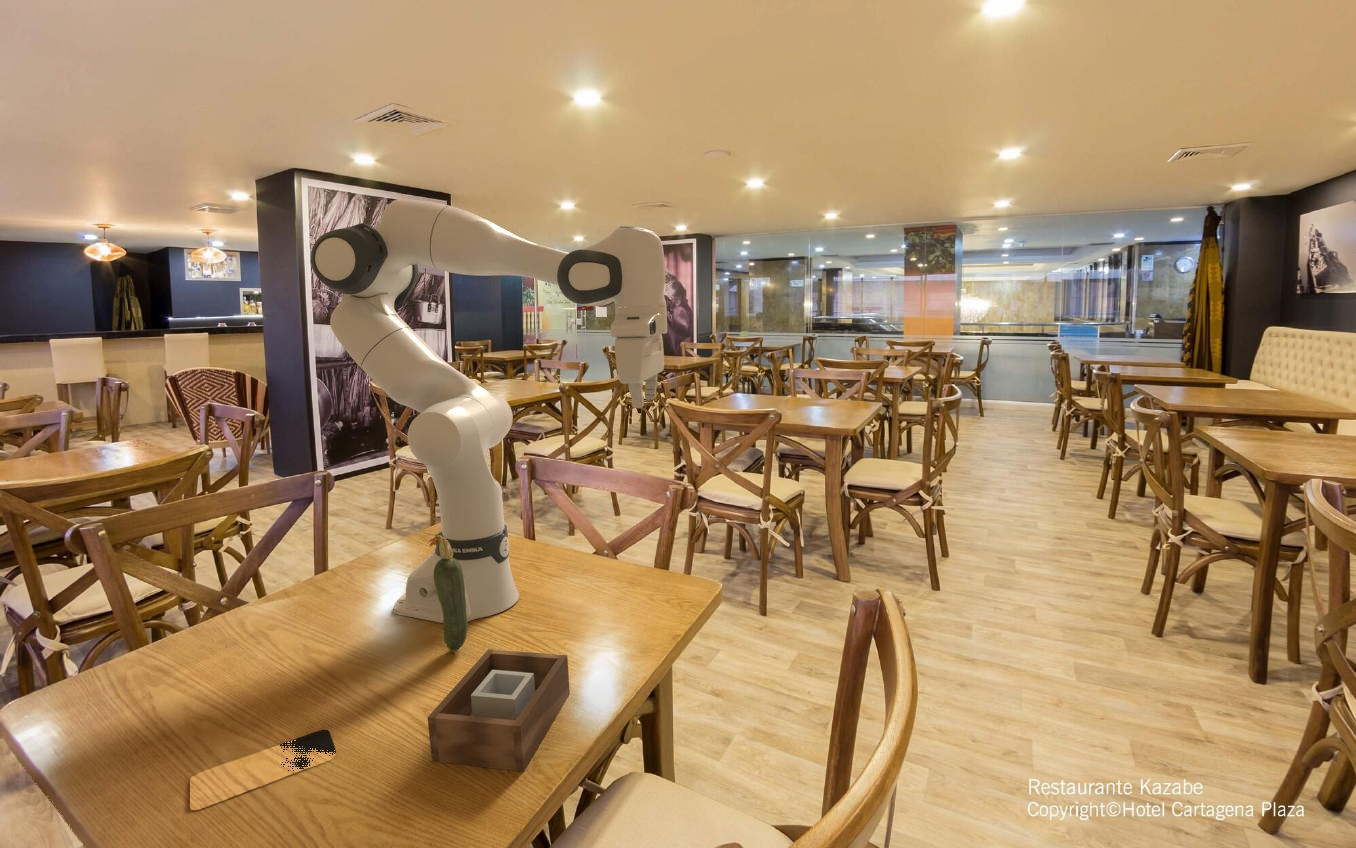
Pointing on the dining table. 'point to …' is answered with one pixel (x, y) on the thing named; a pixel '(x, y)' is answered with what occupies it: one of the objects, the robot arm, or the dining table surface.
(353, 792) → the dining table surface
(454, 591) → the vegetable
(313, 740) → the smartphone
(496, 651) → the big crate
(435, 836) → the dining table surface
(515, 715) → the box
